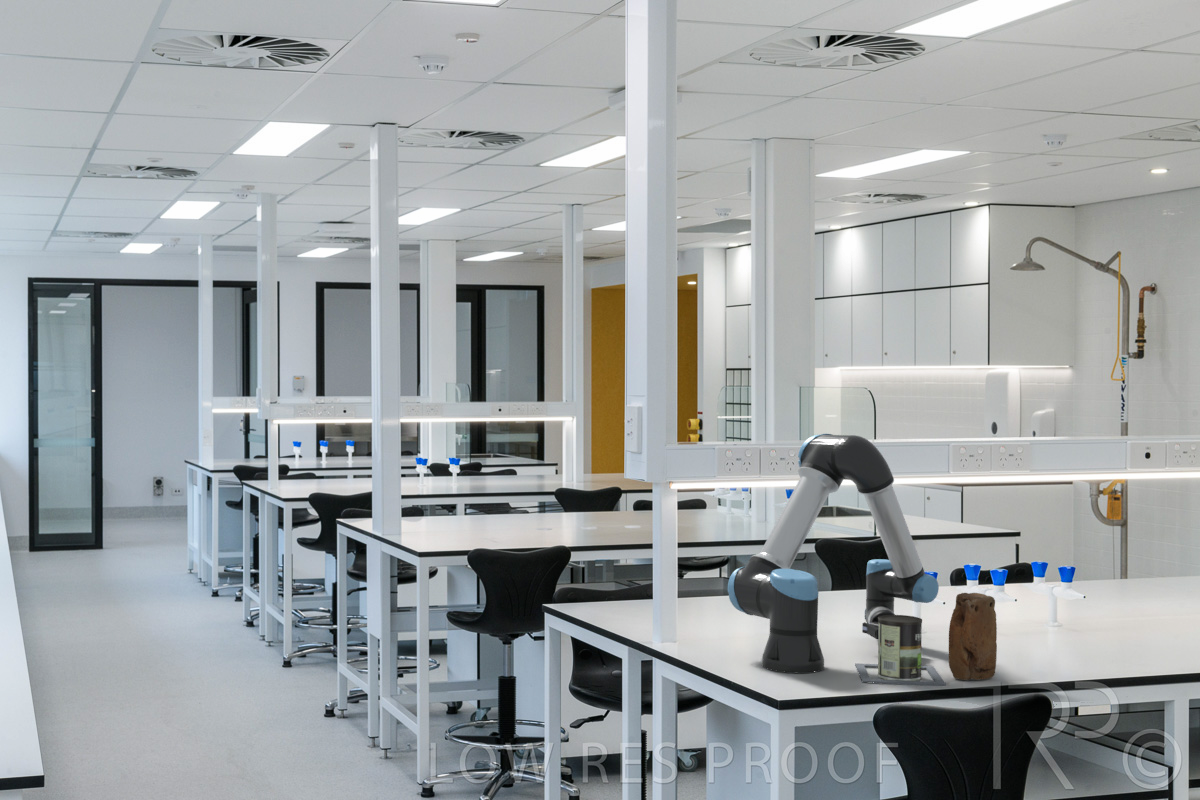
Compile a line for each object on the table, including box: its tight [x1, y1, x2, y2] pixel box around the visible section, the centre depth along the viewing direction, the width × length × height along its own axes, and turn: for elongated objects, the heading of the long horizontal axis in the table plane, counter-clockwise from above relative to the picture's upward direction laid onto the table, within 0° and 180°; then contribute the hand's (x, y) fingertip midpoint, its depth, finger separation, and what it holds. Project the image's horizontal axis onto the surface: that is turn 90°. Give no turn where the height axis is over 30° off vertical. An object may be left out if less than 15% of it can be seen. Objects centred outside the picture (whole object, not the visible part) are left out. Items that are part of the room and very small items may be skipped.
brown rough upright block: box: [948, 592, 998, 681], centre depth 289 cm, size 11×8×20 cm
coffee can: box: [877, 614, 923, 681], centre depth 290 cm, size 10×10×14 cm
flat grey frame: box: [854, 663, 947, 687], centre depth 291 cm, size 19×19×1 cm
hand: (894, 640), depth 301 cm, fingers closed
